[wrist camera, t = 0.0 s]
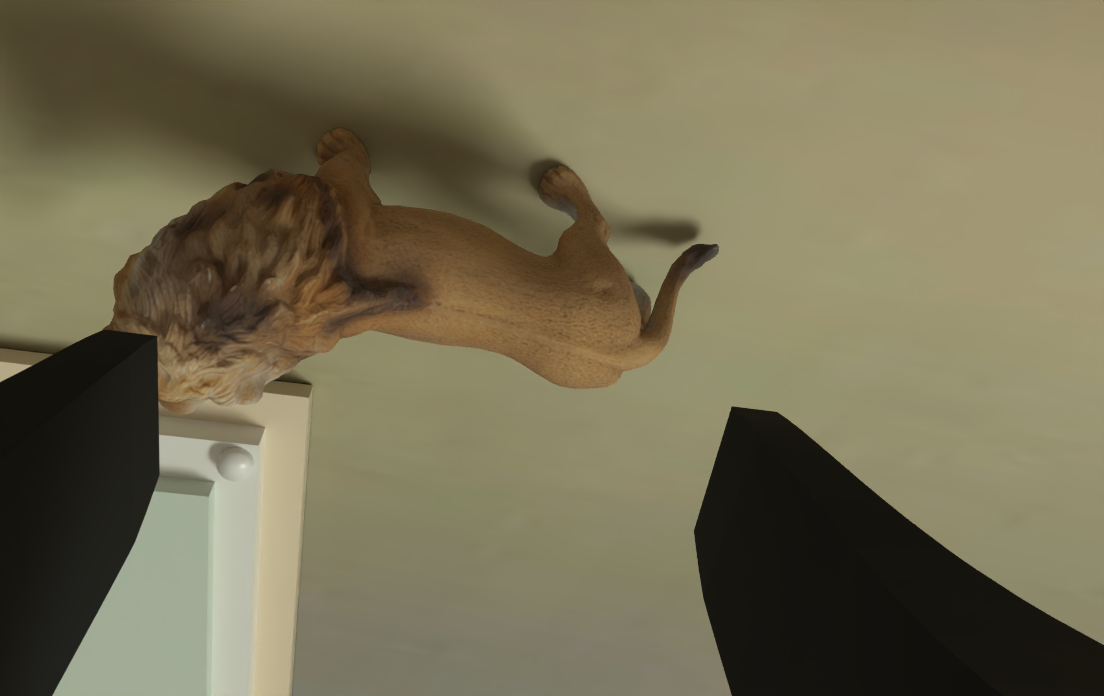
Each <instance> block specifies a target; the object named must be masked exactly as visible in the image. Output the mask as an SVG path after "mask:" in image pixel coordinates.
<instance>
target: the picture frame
mask: <svg viewBox="0 0 1104 696" xmlns="http://www.w3.org/2000/svg"><path fill="white" fill-rule="evenodd" d="M51 355H53V354H45V353H37V352H28V351H20V350H12V349H3V348H0V382H1V381H3V380H5V379H7V378H9V377H11V376H13V375H15V374H17V373H19V372H21V371H23V370H25V369H27V368H28V367H30V366H32V365H34V364H36V363H38V362H40V361H42V360H44V359H46V358H47V357H49V356H51ZM312 393H313V385H306V384H298V383H289V382H281V381H270V382H269V383H267V384H266V385H265V386H264V390H263V396H262V398H261V399H260V400H259V402H257V403H255V404H250V405H239V404H236V405H233V406H226V407H224V406H220V405H218V404H216V403H214V402H213V401H211V400H210V399H208V400H207V401H205V402H204V403H202V404H201V405H199V406H198V407H197V408H196V410H195V411H194V412H192V413H189V414H184V415H179V414H176V413H173V412H171V411H169V410H167V409H166V408H164V407H163V406H162V405H161V404H160V402H159V401H158V403H159V465H160V475H159V478H158V481H157V484H156V487H155V489H154V492H153V495H152V498H151V501H150V504H149V506H148V509H147V512H146V515H145V517H144V520H143V523H142V525H141V528H140V530H139V533H138V536H137V538H136V541H135V543H134V545H133V547H132V549H131V551H130V553H129V555H128V557H127V559H126V561H125V563H124V565H123V566H122V568H121V570H120V572H119V574H118V576H117V578H116V579H115V581H114V583H113V585H112V587H111V589H110V591H109V593H108V594H107V596H106V598H105V600H104V602H103V604H102V606H101V607H100V609H99V611H98V613H97V615H96V616H95V618H94V620H93V622H92V624H91V626H90V627H89V629H88V631H87V633H86V635H85V637H84V638H83V640H82V642H81V644H80V646H79V648H78V650H77V651H76V653H75V655H74V657H73V659H72V661H71V662H70V664H69V666H68V668H67V670H66V672H65V673H64V675H63V677H62V679H61V681H60V683H59V684H58V686H57V688H56V690H55V692H54V694H53V695H52V696H291V695H292V680H293V666H294V652H295V637H296V623H297V608H298V594H299V580H300V565H301V551H302V536H303V522H304V508H305V493H306V479H307V465H308V450H309V436H310V421H311V407H312Z"/></svg>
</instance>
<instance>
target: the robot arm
mask: <svg viewBox="0 0 1104 696" xmlns="http://www.w3.org/2000/svg"><path fill="white" fill-rule="evenodd" d="M159 475H160V465H159V403H158V341H157V336H154V335H146V334H138V333H130V332H122V331H113V330H102V331H100V332H98V333H95V334H93V335H91V336H88V337H86V338H84V339H82V340H80V341H78V342H76V343H74V344H72V345H70V346H68V347H67V348H65V349H63V350H61V351H59V352H57V353H55V354H53V355H51V356H49V357H47V358H46V359H44V360H42V361H40V362H38V363H36V364H34V365H32V366H30V367H28V368H27V369H25V370H23V371H21V372H19V373H17V374H15V375H13V376H11V377H9V378H7V379H5V380H3V381H1V382H0V696H52V695H53V694H54V692H55V690H56V688H57V686H58V684H59V683H60V681H61V679H62V677H63V675H64V673H65V672H66V670H67V668H68V666H69V664H70V662H71V661H72V659H73V657H74V655H75V653H76V651H77V650H78V648H79V646H80V644H81V642H82V640H83V638H84V637H85V635H86V633H87V631H88V629H89V627H90V626H91V624H92V622H93V620H94V618H95V616H96V615H97V613H98V611H99V609H100V607H101V606H102V604H103V602H104V600H105V598H106V596H107V594H108V593H109V591H110V589H111V587H112V585H113V583H114V581H115V579H116V578H117V576H118V574H119V572H120V570H121V568H122V566H123V565H124V563H125V561H126V559H127V557H128V555H129V553H130V551H131V549H132V547H133V545H134V543H135V541H136V538H137V536H138V533H139V530H140V528H141V525H142V523H143V520H144V517H145V515H146V512H147V509H148V506H149V504H150V501H151V498H152V495H153V492H154V489H155V487H156V484H157V481H158V478H159ZM694 535H695V543H696V551H697V559H698V566H699V573H700V579H701V586H702V592H703V598H704V602H705V605H706V609H707V612H708V616H709V620H710V623H711V626H712V630H713V633H714V637H715V640H716V644H717V647H718V651H719V654H720V657H721V661H722V664H723V667H724V671H725V674H726V677H727V681H728V684H729V687H730V691H731V694H732V696H1104V645H1102V644H1101V643H1099V642H1097V641H1095V640H1093V639H1091V638H1090V637H1088V636H1086V635H1084V634H1082V633H1081V632H1079V631H1077V630H1075V629H1073V628H1071V627H1070V626H1068V625H1066V624H1064V623H1062V622H1061V621H1059V620H1057V619H1055V618H1053V617H1051V616H1050V615H1048V614H1046V613H1045V612H1043V611H1041V610H1040V609H1038V608H1036V607H1035V606H1033V605H1031V604H1029V603H1028V602H1026V601H1024V600H1023V599H1021V598H1020V597H1018V596H1016V595H1015V594H1013V593H1012V592H1010V591H1009V590H1007V589H1006V588H1004V587H1003V586H1001V585H1000V584H998V583H996V582H995V581H993V580H992V579H990V578H989V577H987V576H986V575H984V574H983V573H981V572H979V571H978V570H976V569H975V568H973V567H972V566H970V565H969V564H968V563H966V562H965V561H963V560H962V559H960V558H959V557H958V556H956V555H955V554H953V553H952V552H950V551H949V550H948V549H946V548H945V547H944V546H942V545H941V544H940V543H938V542H937V541H936V540H934V539H933V538H932V537H930V536H929V535H928V534H926V533H925V532H924V531H923V530H921V529H920V528H919V527H917V526H916V525H915V524H913V523H912V522H911V521H909V520H908V519H907V518H906V517H904V516H903V515H902V514H901V513H899V512H898V511H897V510H896V509H894V508H893V507H892V506H891V505H889V504H888V503H887V502H886V501H884V500H883V499H882V498H881V497H880V496H878V495H877V494H876V493H875V492H874V491H872V490H871V489H870V488H869V487H868V486H866V485H865V484H864V483H863V482H862V481H860V480H859V479H858V478H857V477H856V476H855V475H853V474H852V473H851V472H850V471H849V470H848V469H846V468H845V467H844V466H843V465H842V464H841V463H839V462H838V461H837V460H836V459H835V458H834V457H832V456H831V455H830V454H829V453H828V452H827V451H825V450H824V449H823V448H822V447H821V446H820V445H818V444H817V443H816V442H815V441H814V440H813V439H811V438H810V437H809V436H808V435H807V434H805V433H804V432H803V431H802V430H801V429H799V428H798V427H797V426H796V425H794V424H793V423H792V422H790V421H789V420H788V419H786V418H785V417H783V416H782V415H781V414H779V413H778V412H773V411H765V410H757V409H748V408H740V407H732V408H731V411H730V414H729V418H728V421H727V424H726V427H725V431H724V434H723V437H722V441H721V444H720V447H719V450H718V454H717V457H716V460H715V464H714V467H713V470H712V473H711V477H710V480H709V483H708V486H707V490H706V493H705V496H704V500H703V503H702V506H701V509H700V513H699V516H698V519H697V523H696V526H695V529H694Z"/></svg>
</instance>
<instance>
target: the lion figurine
mask: <svg viewBox="0 0 1104 696" xmlns="http://www.w3.org/2000/svg"><path fill="white" fill-rule="evenodd" d="M317 151H318V163H319V164H320V165H321V167H320V168H319V170H318V171H317V173H316V175H315V176H308V175H304V174H298V175H292V174H288V173H287V172H282V171H278V170H276V169H271V170H269V171H267V172H266V173H263V174H260V175H259V176H257V177H256V178H255V179H254V180H253V181H251V182H250V183H249V184H248V185H246V184H242V183H239V182H234V183H232V184H229V185H227V186H225V187H224V188H222V189H221V190H219V191H218V192H216V193H215V194H214V195H213V196H212V197H211V198H210V199H208V200H203V201H200V202H198V203H197V204H195V205H194V206H192V208H191V209H190V211H189V212H188V214H186V215H183V216H180V217H177V218H175V219H173V220H171V221H170V223H169V224H168V225H167V226H165V227H163V228H162V229H160V230H159V232H158V233H157V234H156V235H155V236H154V238H153V240H152V242H151V244H150V245H149V246H147V247H145V248H144V249H143V250H142V251H141V252H139V253H136V254H133V255H131V256H130V257H129V258H128V260H127V262H126V264H125V266H124V267H123V268H122V269H121V270H120V271H119V272H118V273H117V274H116V275H115V277H114V286H113V290H114V296H115V300H116V302H115V305H114V308H113V311H114V316H113V319H112V321H111V323H110V325H108V326H106V327H104V329H103V330H113V331H122V332H130V333H138V334H146V335H154V336H157V341H158V401H159V402H160V404H161V405H162V406H163V407H164V408H166V409H167V410H169V411H171V412H173V413H176V414H179V415H184V414H189V413H192V412H194V411H195V410H196V408H197V407H198V406H199V405H201V404H202V403H204V402H205V401H207V400H208V399H210V400H211V401H213V402H214V403H216V404H218V405H220V406H224V407H226V406H233V405H236V404H239V405H250V404H255V403H257V402H259V400H260V399H261V398H262V396H263V390H264V386H265V385H266V384H267V383H269V382H270V381H272V380H275V379H277V378H279V377H280V376H281V375H283V374H287V373H288V372H290V371H291V370H292V369H293V368H294V367H295V366H296V365H297V364H298V363H299V362H300V361H301V360H303V359H305V358H307V357H310V356H312V355H315V354H316V353H325V352H329V351H330V350H331V349H333V347H334V346H335V345H336V343H337V342H338V341H339V339H340V338H347V337H351V336H355V335H358V334H361V333H362V332H364V331H369V330H373V331H378V332H383V333H387V334H392V335H396V336H400V337H403V338H407V339H411V340H417V341H422V342H429V343H435V344H441V345H447V346H462V347H471V348H478V349H483V350H488V351H492V352H496V353H500V354H502V355H505V356H507V357H510V358H512V359H514V360H516V361H517V362H519V363H521V364H523V365H524V366H526V367H527V368H529V369H530V370H532V371H533V372H535V373H536V374H538V375H540V376H541V377H543V378H545V379H547V380H548V381H550V382H552V383H554V384H556V385H559V386H562V387H567V388H575V389H584V388H601V387H608V386H610V385H612V384H614V383H615V382H616V381H617V380H618V379H619V378H620V376H621V374H622V372H623V371H627V370H632V369H635V368H638V367H641V366H643V365H646V364H648V363H649V362H651V361H652V360H653V359H654V358H656V357H657V356H658V354H659V353H660V352H661V351H662V350H663V348H664V347H665V345H666V344H667V341H668V339H669V336H670V332H671V329H672V323H673V317H674V312H675V306H676V300H677V296H678V292H679V290H680V287H681V286H682V284H683V283H684V281H685V280H686V279H687V277H688V276H689V274H690V273H691V272H693V271H694V270H695V269H698V268H699V267H701V266H702V265H703V264H704V263H705V262H707V261H709V260H710V259H712V258H713V257H715V256H716V255H717V254H718V251H719V246H718V245H717V244H714V245H705V244H696V245H693V246H691V247H690V248H689V249H687V250H686V251H684V252H683V253H682V255H681V256H680V257H679V258H678V259H677V260H676V261H675V262H674V263H673V264H672V266H671V268H670V270H669V272H668V274H667V276H666V278H665V280H664V282H663V284H662V286H661V289H660V292H659V294H658V297H657V299H656V302H655V305H654V308H653V310H652V313H651V301H650V297H649V296H648V295H647V293H646V292H645V291H644V290H643V288H641V287H640V286H639V285H637V284H635V283H633V282H631V281H630V280H629V278H628V276H627V274H626V272H625V270H624V268H623V267H622V265H621V264H620V263H619V261H618V260H617V259H616V257H615V256H614V255H613V254H612V253H611V251H610V250H609V248H608V246H607V240H608V238H609V236H610V233H611V232H610V227H609V225H608V223H607V221H606V220H605V219H604V217H603V216H602V215H601V213H600V212H599V210H598V209H597V208H596V206H595V205H594V203H593V202H592V200H591V198H590V195H589V193H588V191H587V189H586V187H585V185H584V183H583V182H582V181H581V179H580V178H579V177H578V176H577V175H576V174H575V173H574V172H573V171H572V170H570V169H568V168H566V167H563V166H556V167H553V168H551V169H548V170H547V171H546V172H545V173H544V175H543V177H542V180H541V183H540V186H539V196H540V198H541V200H542V201H543V202H544V203H545V204H547V205H548V206H549V207H552V208H554V209H557V210H560V211H562V212H565V213H566V214H568V215H570V216H571V217H572V218H573V219H574V221H575V223H574V224H573V225H572V226H571V227H570V228H568V229H567V230H565V231H564V232H563V234H562V235H561V237H560V239H559V243H558V247H557V249H556V251H555V252H554V254H552V255H551V256H548V257H542V256H539V255H535V254H533V253H531V252H529V251H527V250H525V249H523V248H521V247H519V246H517V245H516V244H514V243H512V242H511V241H509V240H507V239H506V238H504V237H502V236H501V235H499V234H497V233H496V232H494V231H492V230H491V229H489V228H487V227H485V226H483V225H481V224H479V223H476V222H474V221H471V220H469V219H466V218H462V217H459V216H456V215H453V214H449V213H445V212H440V211H435V210H429V209H421V208H412V207H404V206H384V205H382V204H381V201H380V199H379V198H378V196H377V195H376V194H375V192H374V191H373V190H372V188H371V186H370V184H369V174H370V172H371V168H370V163H369V159H368V155H367V153H366V151H365V148H364V146H363V145H362V144H361V142H360V141H359V139H358V138H357V137H356V136H355V135H354V134H353V133H352V132H350V131H349V130H346V129H343V128H336V129H334V130H331V131H329V132H327V133H326V134H324V136H323V137H322V138H321V140H320V141H319V143H318V145H317ZM650 315H651V316H650Z"/></svg>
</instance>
